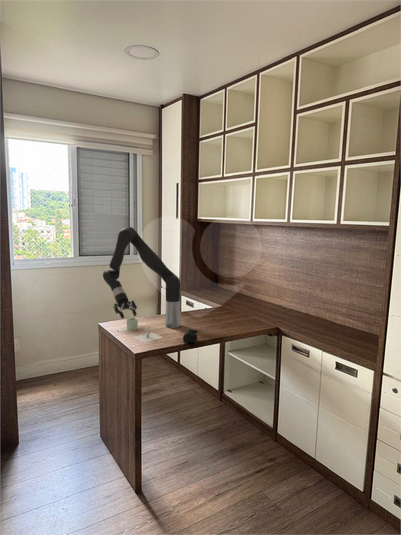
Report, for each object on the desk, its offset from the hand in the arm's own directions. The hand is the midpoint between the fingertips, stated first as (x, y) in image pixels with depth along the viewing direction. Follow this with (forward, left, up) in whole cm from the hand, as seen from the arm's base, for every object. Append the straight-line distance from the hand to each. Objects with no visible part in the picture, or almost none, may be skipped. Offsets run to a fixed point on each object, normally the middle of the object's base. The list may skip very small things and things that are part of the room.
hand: (129, 316), depth 226 cm
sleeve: (0, +3, -8) cm, 9 cm away
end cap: (-16, +40, -9) cm, 44 cm away
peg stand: (+1, +22, -8) cm, 24 cm away
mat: (0, +3, -8) cm, 9 cm away
